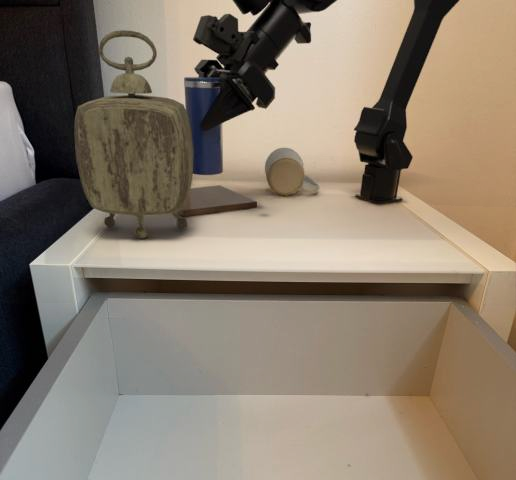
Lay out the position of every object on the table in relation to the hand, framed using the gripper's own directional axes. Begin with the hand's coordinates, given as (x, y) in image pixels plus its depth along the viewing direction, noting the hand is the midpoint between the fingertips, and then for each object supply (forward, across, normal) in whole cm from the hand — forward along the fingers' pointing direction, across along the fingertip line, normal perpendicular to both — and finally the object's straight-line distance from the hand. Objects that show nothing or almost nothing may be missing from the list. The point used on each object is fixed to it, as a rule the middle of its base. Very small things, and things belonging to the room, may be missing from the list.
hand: (195, 126), depth 75 cm
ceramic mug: (-6, -10, +26) cm, 28 cm away
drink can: (+4, 0, +6) cm, 7 cm away
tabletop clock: (+17, +6, +2) cm, 19 cm away
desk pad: (+7, -8, +12) cm, 16 cm away
